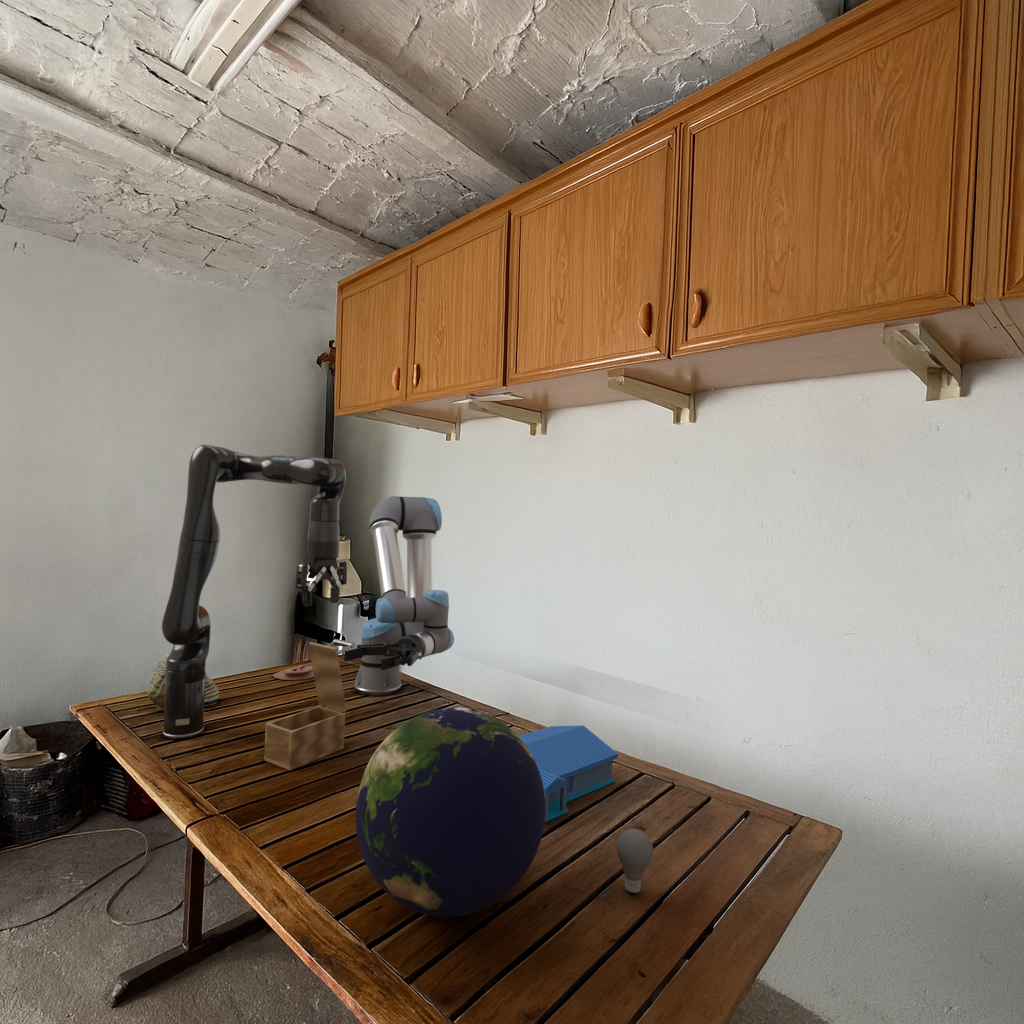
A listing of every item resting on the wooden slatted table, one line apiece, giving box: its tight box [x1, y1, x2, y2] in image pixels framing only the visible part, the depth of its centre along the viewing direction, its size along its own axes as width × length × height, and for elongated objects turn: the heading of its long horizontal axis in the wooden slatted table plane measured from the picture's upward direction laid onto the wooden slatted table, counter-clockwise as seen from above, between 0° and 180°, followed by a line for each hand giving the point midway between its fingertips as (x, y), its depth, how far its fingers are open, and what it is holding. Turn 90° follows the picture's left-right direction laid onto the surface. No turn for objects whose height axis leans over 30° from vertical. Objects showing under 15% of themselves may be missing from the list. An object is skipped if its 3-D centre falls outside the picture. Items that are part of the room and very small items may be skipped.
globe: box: [354, 707, 546, 918], centre depth 101 cm, size 30×30×30 cm
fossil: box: [147, 654, 221, 712], centre depth 185 cm, size 9×18×15 cm, turn 132°
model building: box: [518, 725, 619, 823], centre depth 140 cm, size 39×24×10 cm, turn 132°
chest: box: [263, 705, 346, 771], centre depth 155 cm, size 16×9×9 cm, turn 148°
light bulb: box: [615, 828, 654, 894], centre depth 106 cm, size 6×6×10 cm
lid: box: [307, 638, 356, 713], centre depth 163 cm, size 17×9×8 cm
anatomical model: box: [272, 662, 314, 681], centre depth 220 cm, size 13×4×12 cm
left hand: (321, 604), depth 157 cm, fingers open, 8 cm apart
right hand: (363, 660), depth 170 cm, fingers open, 13 cm apart
